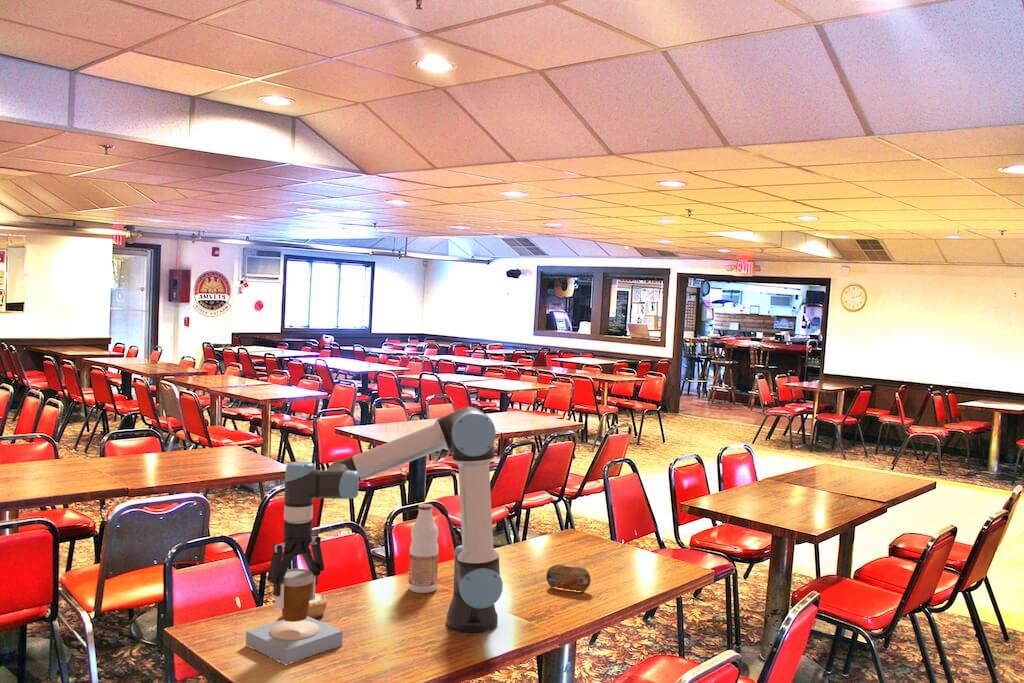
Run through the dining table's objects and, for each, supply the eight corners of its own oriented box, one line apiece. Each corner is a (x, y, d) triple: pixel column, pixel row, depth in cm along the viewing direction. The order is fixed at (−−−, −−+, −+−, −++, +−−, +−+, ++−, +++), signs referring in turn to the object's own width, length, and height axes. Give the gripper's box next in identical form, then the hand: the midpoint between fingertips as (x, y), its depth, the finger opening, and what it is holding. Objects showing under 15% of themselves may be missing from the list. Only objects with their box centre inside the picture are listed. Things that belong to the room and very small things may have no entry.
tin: (545, 588, 272) (546, 563, 272) (548, 585, 275) (549, 561, 275) (588, 595, 266) (589, 570, 266) (591, 592, 269) (592, 567, 269)
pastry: (305, 626, 232) (305, 596, 231) (276, 616, 238) (277, 587, 237) (334, 613, 242) (335, 584, 241) (306, 604, 248) (307, 576, 247)
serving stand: (342, 645, 218) (342, 629, 218) (285, 665, 204) (286, 648, 204) (301, 627, 229) (302, 612, 229) (245, 645, 215) (246, 629, 215)
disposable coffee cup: (303, 626, 211) (304, 580, 211) (269, 621, 213) (271, 576, 213) (318, 613, 220) (320, 570, 220) (286, 609, 222) (288, 566, 222)
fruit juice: (418, 595, 260) (421, 509, 259) (403, 587, 267) (405, 504, 266) (442, 590, 266) (445, 506, 265) (426, 582, 273) (429, 500, 272)
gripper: (322, 511, 227) (320, 590, 227) (254, 524, 210) (251, 609, 210) (339, 516, 222) (336, 596, 222) (270, 529, 205) (267, 616, 205)
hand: (295, 602), depth 216 cm, fingers closed on disposable coffee cup, 9 cm apart
